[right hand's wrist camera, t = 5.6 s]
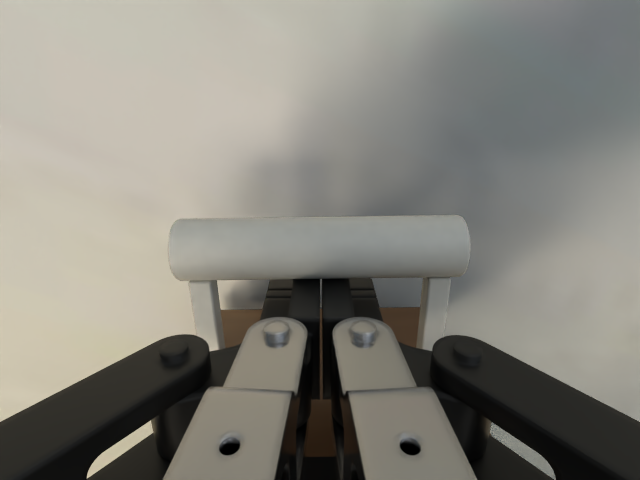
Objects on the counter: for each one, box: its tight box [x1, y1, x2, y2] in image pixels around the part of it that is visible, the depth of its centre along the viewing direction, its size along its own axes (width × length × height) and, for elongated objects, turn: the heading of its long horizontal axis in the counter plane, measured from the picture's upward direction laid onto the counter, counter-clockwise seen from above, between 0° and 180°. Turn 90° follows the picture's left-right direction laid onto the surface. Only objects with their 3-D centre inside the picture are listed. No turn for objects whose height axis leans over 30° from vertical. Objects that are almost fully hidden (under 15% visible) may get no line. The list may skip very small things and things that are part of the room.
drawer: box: [168, 215, 491, 480], centre depth 13 cm, size 17×9×9 cm, turn 1°
